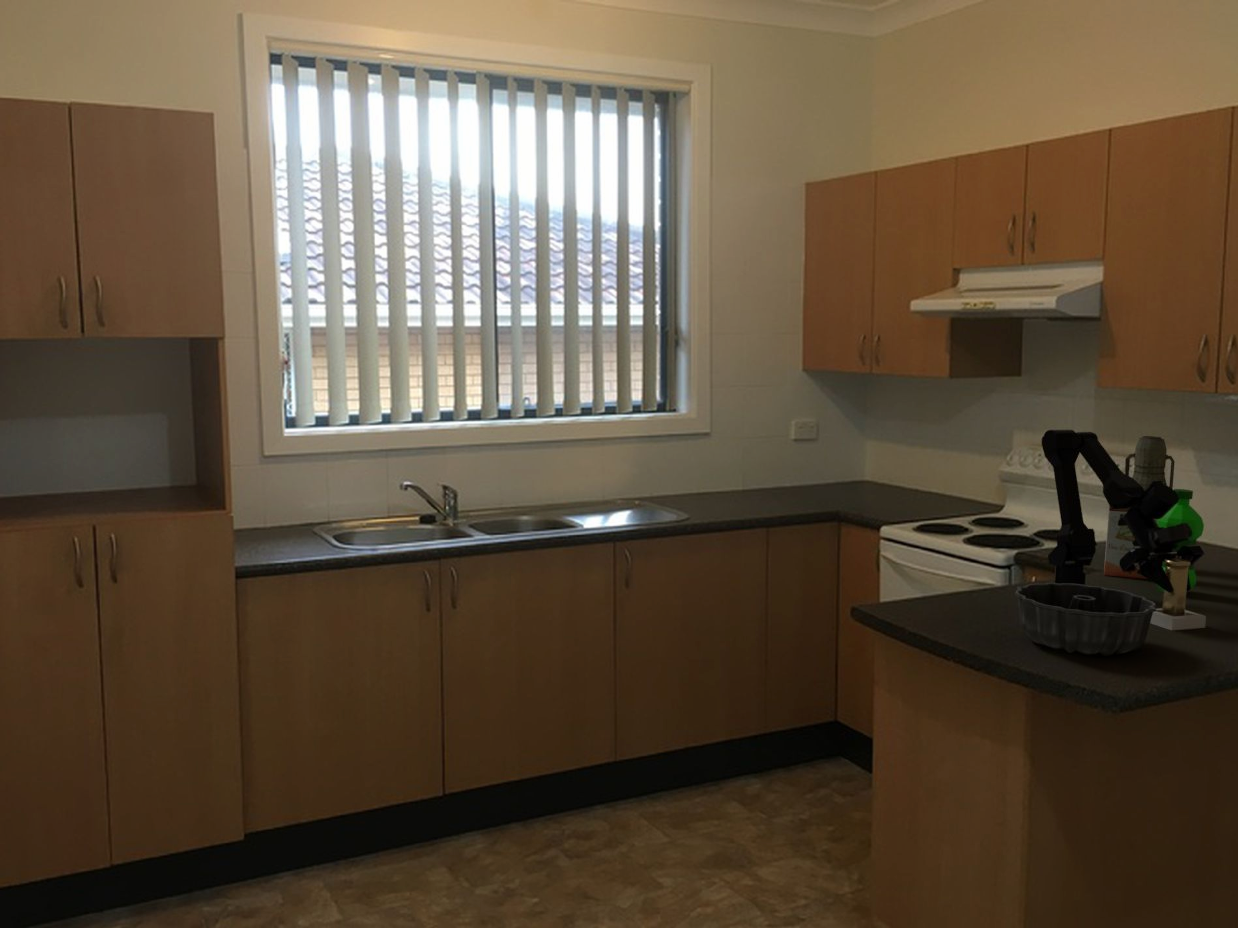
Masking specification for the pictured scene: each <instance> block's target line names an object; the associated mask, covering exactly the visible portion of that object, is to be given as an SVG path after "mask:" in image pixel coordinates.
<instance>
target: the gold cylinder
mask: <svg viewBox="0 0 1238 928" xmlns="http://www.w3.org/2000/svg"><path fill="white" fill-rule="evenodd" d="M1165 564H1166V570H1165V573H1166V575H1167V577H1168V579H1169V581H1170V583H1171V585H1172V588H1173V591H1172V592H1171V593H1169V592H1167V591H1166V590H1164V592H1163V598H1162V608H1163V609H1162V613H1163V614H1167V615H1170V616H1173V617H1174V616H1185V610H1186V603H1187V602H1186V601H1187V592H1186V591H1187V579H1188V567H1189V566H1190V561H1188V560H1184V559H1177V558H1167V559H1165Z"/></svg>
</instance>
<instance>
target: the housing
mask: <svg viewBox="0 0 1238 928" xmlns="http://www.w3.org/2000/svg"><path fill="white" fill-rule="evenodd" d="M1162 609H1163V607H1162V608H1161V607H1160V608H1156V611H1155V612H1153V614H1152V618H1151V622H1150V624H1152V625H1154V626H1157V627H1161V628H1163V629H1166V630H1168V631H1169V630H1170V631H1181V630H1192V629H1194V630H1195V629H1201V628H1202V629H1205V628H1206V621H1207V616H1206V615H1204V614H1201V613H1197V612H1193V611H1190V610H1188V609H1185V616H1174V617H1173V616H1170V615H1167V614H1163V613H1162Z"/></svg>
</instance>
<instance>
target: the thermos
mask: <svg viewBox="0 0 1238 928" xmlns="http://www.w3.org/2000/svg"><path fill="white" fill-rule="evenodd" d="M1134 451H1135V452H1133V453H1130V454H1128V456H1127V457H1125V461H1124V463H1125V465H1124V466H1125V467H1124V474H1126V475H1128V476H1130V466H1131V465H1130V463H1131V460H1132V458H1134V460H1133V461H1134V464H1133V465H1134V470H1133V474H1132V477H1131V478H1133V479H1135V480H1136V481H1137V482H1138V483H1139V484H1140V485H1141V486H1142V487H1143V489H1144V490H1146V489H1147V488H1148V487H1149V486H1150V484H1151V483H1152V482H1153V481H1162V483H1163V484H1164V485H1167V486H1168V484H1167V481H1166V477H1165V475H1166V472H1165V468H1166V464H1167V462H1166V461H1168V460H1169V461H1170V471H1169V472H1170V476H1169V487H1170V488H1172V489H1173V488H1174V477H1175V476H1174V475H1175V472H1174V471H1175V463H1176V462H1175V460H1174V458H1173V457H1172V455H1168V454H1167V445H1166V442H1165V439H1164V438H1162V437H1160V436H1152V435H1151V436H1149V435H1146V436H1145V435H1143V436H1142V437H1139V438H1138V440H1137V442H1136V445H1135V450H1134ZM1173 490H1174V489H1173Z"/></svg>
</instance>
